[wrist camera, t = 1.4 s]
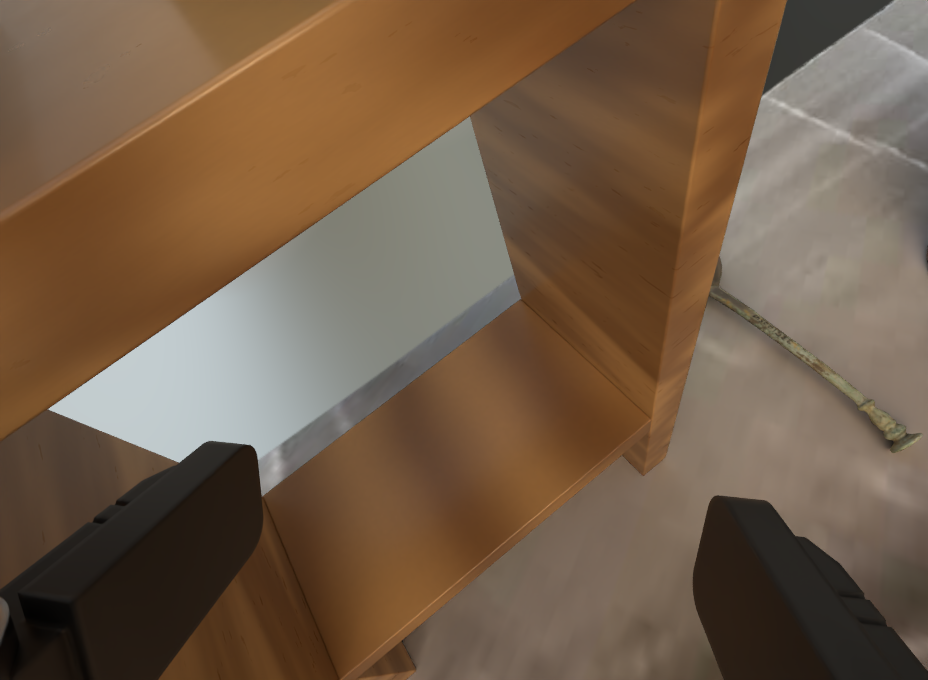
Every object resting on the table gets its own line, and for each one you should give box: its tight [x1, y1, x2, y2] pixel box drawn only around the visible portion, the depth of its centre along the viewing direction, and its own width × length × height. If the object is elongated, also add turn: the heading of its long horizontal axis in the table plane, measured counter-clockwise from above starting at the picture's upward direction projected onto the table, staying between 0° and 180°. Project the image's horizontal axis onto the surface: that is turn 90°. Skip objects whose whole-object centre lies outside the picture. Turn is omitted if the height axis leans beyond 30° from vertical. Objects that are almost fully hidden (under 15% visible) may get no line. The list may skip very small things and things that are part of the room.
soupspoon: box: [709, 257, 923, 453], centre depth 33 cm, size 22×3×7 cm
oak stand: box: [0, 0, 787, 680], centre depth 20 cm, size 22×10×31 cm, turn 125°
